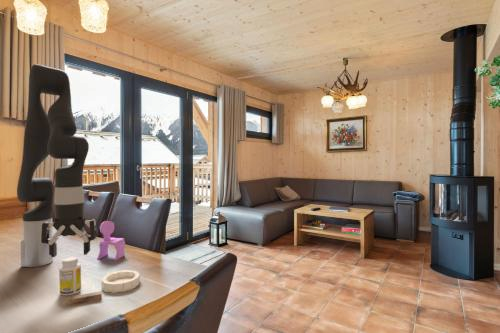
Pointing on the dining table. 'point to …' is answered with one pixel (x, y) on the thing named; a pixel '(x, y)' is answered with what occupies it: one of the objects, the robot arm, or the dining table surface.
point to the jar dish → (120, 281)
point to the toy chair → (110, 241)
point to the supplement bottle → (70, 276)
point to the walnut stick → (85, 298)
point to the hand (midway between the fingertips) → (70, 255)
